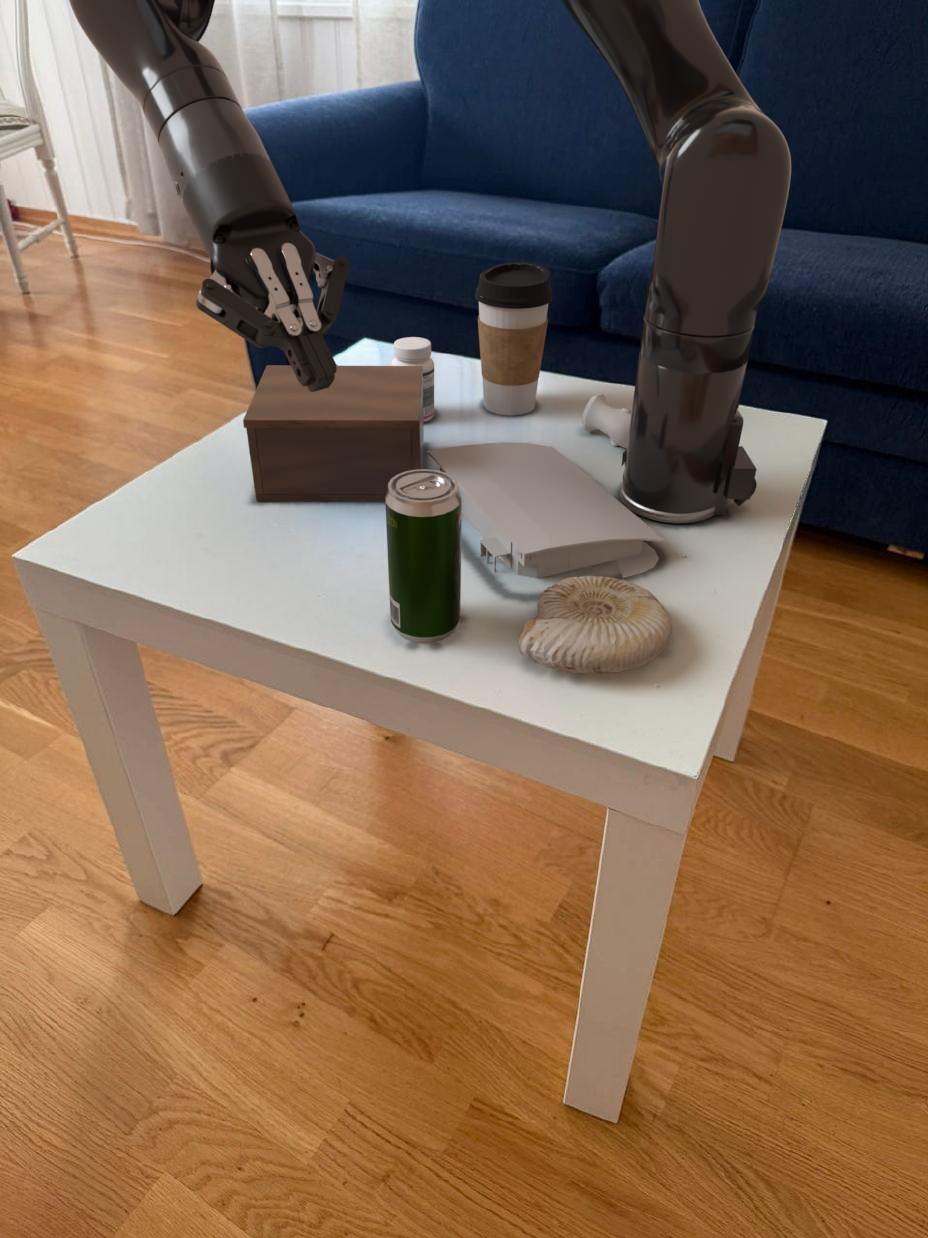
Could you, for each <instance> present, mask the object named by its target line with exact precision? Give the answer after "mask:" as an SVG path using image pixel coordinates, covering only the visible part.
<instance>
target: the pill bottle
mask: <svg viewBox="0 0 928 1238" xmlns="http://www.w3.org/2000/svg"><path fill="white" fill-rule="evenodd" d="M393 356H394V357H393V359H392V360H391V362H390V366H422V367H423V423H425V422H428V421H430V420H431V419H433V417H434V416H435V363H434V359H433V358H431V356H432V342H431V341H430V340H429V339H427V338H424V337H418V336H409V337H401V338H398V339H396V340H395V341H394V343H393Z"/></svg>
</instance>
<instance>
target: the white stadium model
mask: <svg viewBox="0 0 928 1238" xmlns="http://www.w3.org/2000/svg"><path fill="white" fill-rule="evenodd" d="M427 455H429V456H430V457H431V458H432V459H433V461H434V462H435V463H436V464H437V465H438V466H439V471H441V472H445V473H447V474H449V475H451V476H453V477H454V478H455V479H456V480H457V482H458V486H459V492H460V494H461V498H462V516H463V517H464V518H465V519H466V520H467V522H469V524H470V525H471V526H472V527H473V528H474V529H475V530H476V532H477V533H478V534H479V535H480V536H481V537H482V539H480V540H479V556H480V557H482V556H483V555H486V556H485V557H486V563H485V564H489V563H490V562H489V556H490V555H491V556H492V557H493V572H494V573H496V572H497V558H500V559H501V560H502V561H503V562H504V563H505V564H506V566H507V567H508V568H509V569H511V570H513V572H515V573H516V574H517V576H523V577H528V578H534V579H540V578H545V577H549V576H553V575H559V574H561V573H566V572H570V571H574V570H578V569H582V568H586V567H591V566H595V565H600V564H603V563H609V562H611V561H612V562H613V561H615V562H616V564H617V566H618V568H619V571H620V573H621V576H622V578H628V577H631V576H636V575H639V574H643V573H645V572H647V571H649V570H652V569H654V568H655V566H656V565H657V563H658V561H659V560H660V558H659V556H658V554H657V552H656V550H655V549H654V548H653V547H651V545H649V544H648V543H647V542H655V543H667V540H666V539H665V538H664V537H663V536H662V535H660V534H659V533H658V532H657V531H655V529H653V528H652V527H651V526H649V525H648V524H647V523H646V522H645V521H644V520H642V519H641V518H640V517H639V516H637V514H636V513H635V512H633V511H631V510H630V509H628V508H627V507H626V506H625V505H624V504H623V503H622V502H620V501H619V500H618V499H617V498H616V497H615V496H613V495H612V494H611V493H609V492H608V491H607V490H606V489H605V488H603V487H602V486H601V485H600V484H599V483H597V482H596V481H595V480H594V479H593V478H592V477H590V476H589V475H588V474H586V473H585V472H584V471H583V470H581V469H580V467H578V466H577V465H576V464H574V463H573V462H572V461H571V460H569V459H568V458H567V457H566V456H565V455H563V454H562V453H561V452H560V451H558V450H557V449H556V448H555V447H553V446H552V445H545V444H538V443H537V444H536V443H531V442H504V441H502V442H501V441H500V442H487V443H485V442H484V443H473V444H465V445H456V446H448V447H442V448H438V449H437V448H436V449H432V450H428V451H427ZM646 541H647V542H646ZM489 554H490V555H489Z"/></svg>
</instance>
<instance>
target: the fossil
mask: <svg viewBox="0 0 928 1238" xmlns="http://www.w3.org/2000/svg"><path fill="white" fill-rule="evenodd" d="M536 612H537V616H535V617H532V618H530V619H529V620H528V621H527V622H526V623H525V624H524V626H523V629H522V632H521V634H520V635H519V638H518V639H519V641H518V647H519V652H520V654H521V655H522V656H523V657H525V658H527V659H529V660H532V661H533V662H536V663H539V664H541V665H542V666H545V667H547V668H549V669H558V670H561V671H568V672H569V673H578V674H579V673H584V674H585V673H586V674H591V673H596V674H603V673H618V672H619V673H620V672H623V671H624V672H625V671H626V670H630V669H635V668H639V667H642V666H643V665H645V664H647V663H649V662H650V661H652V660H653V659H655V658H656V657H657V656H659V655H660V654H661V652H662V651H664V649H665V648H666V646H667V645H668V643H669V641H670V638H671V635H672V633H673V632H672V631H673V624H672V617H671V616H670V614H669V612H668V610H667V609H666V608H665V607H664V605H663V604H662V603H661V602H660V600H659V599H658V598H657V597H656V596H655V595H654V594H653V593H652V592H651V591H649V589H646V588H644V587H642V586H639V585H638V584H636V583H633V582H630V581H627V580H623V579H619V578H614V577H610V576H605V575H604V576H603V575H581V576H580V575H579V576H572V577H570V576H569V577H567V578H566V577H565V578H564V579H561V580H560V581H558V582H556V583H554V584H552V585H551V586H548V587H547V589H545V590H543V592H542V593H541V594H540V596H539V597H538V600H537V603H536Z"/></svg>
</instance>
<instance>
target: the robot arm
mask: <svg viewBox="0 0 928 1238" xmlns="http://www.w3.org/2000/svg"><path fill="white" fill-rule="evenodd" d="M559 1H560V2H561V4H562V5H563V7H564V8H565V10H566V11H567V13H568V14H569V16H570V18H572V20H573V21H574V23H575V24H576V25H577V26H578V28H579V29H580V31H581V32H582V33H583V35H584V37H586V39H587V40H588V41H589V43H590V44H591V46H592V47H593V48H594V49H595V50H596V51H597V54H598V55H600V57H601V58H602V59H603V61H604V62H605V63H606V65H607V66H608V68H609V69H610V70H611V72H612V73H613V75H614V76H615V78H616V80H617V81H618V83H619V85H620V86H621V88H622V90H623V92H624V94H625V96H626V99H627V101H628V102H629V104H630V106H631V109H632V111H633V113H634V115H635V117H636V120H637V122H638V125H639V127H640V129H641V131H642V134H643V136H644V139H645V141H646V144H647V146H648V148H649V152H650V153H651V157H652V159H653V162H654V164H655V167H656V170H657V173H658V176H659V180H660V184H661V187H662V188H661V189H662V191H661V198H660V207H659V213H658V214H659V215H658V222H657V230H656V237H655V244H654V252H653V253H654V254H653V260H652V266H651V271H650V276H649V281H648V284H647V288H646V294H645V303H644V304H645V305H644V311H643V319H642V320H643V321H642V327H641V335H640V336H641V337H640V344H639V353H638V360H637V366H636V368H637V369H636V374H635V375H636V376H635V384H634V391H633V399H632V406H631V411H632V413H631V421H630V429H629V437H628V444H627V448H625V450H624V451H623V452H622V458H621V465H620V466H621V467H623V466H624V469H623V472H622V473H623V474H622V481H621V485H620V490H619V491H620V492H619V497H620V500H621V503H622V504H623V505H624V506H625V507H626V508H627V509H629V510H630V511H631V512H632V513H634V514H635V515H638V516H640V517H644V518H646V519H649V520H652V521H656V522H662V523H669V524H691V523H698V522H702V521H705V520H707V519H710V518H712V517H713V516H725V515H726V510H727V505H728V501H731V500H732V501H733V502H734V503H735V505H737V506H738V507H740V506H741V505H743V503H745V502H747V501H748V500H751V497H752V496H753V495H754V494H755V492H756V491H757V486H758V485H757V484H758V483H757V479H756V473H757V467H756V466H755V464H754V462H753V460H752V459H751V458H750V456H749V455H748V453H747V451H746V450H745V448H744V446H743V445H740V443H741V437H742V432H743V427H744V417H743V415H742V414H741V413H740V411H739V407H740V403H741V396H742V392H743V387H744V381H745V376H746V373H747V372H746V371H747V366H748V362H749V357H750V351H751V347H752V343H753V337H754V332H755V326H756V321H757V318H758V317H757V316H758V311H759V307H760V305H761V303H762V301H763V298H764V297H765V295H766V293H767V290H768V287H769V284H770V280H771V276H772V271H773V265H774V262H775V259H776V258H775V257H776V253H777V250H778V249H777V248H778V244H779V240H780V235H781V231H782V227H783V223H784V217H785V213H786V208H787V204H788V203H787V202H788V199H789V192H790V191H789V190H790V186H791V177H792V157H791V151H790V147H789V146H788V141H787V140H786V137H785V136H784V135H785V134H783V132H782V130H781V129H780V127H778V125H776V123H775V122H774V121H773V120H772V119H771V118H770V117H768V116H767V115H766V113H765V112H763V111H762V109H761V108H760V107H759V106H758V105H757V103H756V102H755V101H754V99H753V98H752V96H751V95H750V94H749V93H750V92H748V91H747V89H746V87H745V86H744V85H743V83H742V81H741V79H740V78H739V76H738V74H737V73H736V71H735V69H734V68H733V66H732V64H731V63H730V61H729V59H728V58H727V56H726V55H725V53H724V51H723V50H722V47H721V46H720V44H719V43H718V40H717V39H716V37H715V34H714V33H713V31H712V29H711V28H710V26H709V23H708V21H707V18H706V17H705V14H704V12H703V10H702V7H701V4H700V1H699V0H559ZM68 2H69V5H70V8H71V10H72V12H73V14H74V16H75V19H76V21H77V23H78V24H79V26H80V27H81V30H83V32H84V35H85V36H86V37H87V39H88V40H89V42H90V43H91V44H92V46H93V47H94V49H96V51H97V53H98V54H99V55H100V56H101V58H102V59H103V60H104V61H105V63H106V64H107V65H108V67H109V68H110V69H111V70H112V72H113V73H114V74H115V76H116V77H117V79H118V80H119V81H120V82H121V84H123V86H124V87H125V88H126V89H127V90H128V91H129V92H130V94H131V95H132V96H133V97H134V98H135V99H136V101H137V102H138V104H139V106H140V108H141V110H142V113H143V114H144V117H145V119H146V121H147V124H148V126H149V128H150V131H151V132H152V134H153V136H154V138H155V140H156V142H157V144H158V148H159V149H160V151H161V154H162V156H163V159H164V163H165V166H166V170H167V172H168V175H169V178H170V180H171V182H172V184H173V188H174V192H175V193H176V195H177V196H178V198H179V199H180V201H181V203H182V205H183V207H184V209H185V211H186V214H187V215H188V218H189V220H190V222H191V224H192V227H193V229H194V231H195V233H196V235H197V237H198V239H199V241H200V243H201V246H202V247H203V249H204V251H205V253H206V255H207V256H208V257H209V272H210V275H211V276H210V277H209V278H205V279H203V280H202V282H201V285H200V288H199V291H198V293H197V297H196V299H195V306H196V308H197V309H198V310H200V311H201V312H203V313H204V314H205V315H207V316H208V317H210V318H212V319H213V320H214V321H216V322H218V323H220V324H221V325H222V326H224V327H225V328H227V329H229V331H232V332H233V333H235V334H236V335H237V336H239V337H241V338H242V339H244V340H246V341H247V342H249V343H250V344H252V345H253V346H255V347H256V348H258V349H262V350H263V349H266V348H267V347H275V348H279V349H280V350H281V351H283V353H284V355H285V357H286V358H287V360H288V363H289V365H291V367H292V369H293V371H294V373H295V375H296V377H297V379H298V381H299V382H300V383H301V385H302V386H303V387H304V386H307V387H308V389H309V391H310V392H315V391H319V390H322V389H326V388H329V386H330V385H331V384H332V382H333V381H334V379H335V373H336V371H337V368H336V364H337V363H336V361H335V358H334V357H333V354H332V353H331V350H330V348H329V346H328V344H327V342H326V340H325V338H324V336H325V335H327V334H328V332H329V330H330V328H331V327H332V324H333V323H334V322H335V321H336V320H337V318H338V314H339V312H340V306H341V302H342V298H343V293H344V291H345V290H344V289H345V285H346V281H347V277H348V272H349V269H350V262H349V260H348V259H347V257H346V256H344V255H337V256H336V257H335V258H334V259H331V258H330V257H327V256H326V255H323V254H320V253H319V252H317V251H316V249H317V248H316V246H315V245H314V243H313V242H312V241H311V240H310V239H309V238H308V237H307V236H306V235H305V234H304V232H303V231H302V230H301V227H300V224H299V220H298V216H297V213H296V210H295V209H294V205H293V204H292V201H291V199H290V198H289V195H288V193H287V191H286V189H285V187H284V185H283V183H282V180H281V179H280V177H279V175H278V172H277V171H276V168H275V166H274V164H273V162H272V160H271V158H270V156H269V154H268V152H267V149H266V147H265V145H264V144H263V141H262V139H261V138H260V135H259V134H258V132H257V130H256V128H255V127H254V126H253V124H252V123H251V121H250V120H249V118H248V117H247V115H246V113H245V111H244V110H243V107H242V105H241V103H240V101H239V98H238V97H237V95H236V92H235V91H234V89H233V87H232V84H231V82H230V80H229V78H228V76H227V73H226V72H225V70H224V68H223V66H222V64H221V63H220V62H219V59H217V58H216V56H215V54H214V53H213V52H212V51H211V50H210V49H209V48H207V46H205V45H204V44H203V43H201V42H200V41H201V40H202V38H203V36H204V35H205V34H206V31H207V29H208V26H209V24H210V21H211V17H212V15H213V10H214V7H215V2H216V0H68ZM313 272H314V273H315V280H316V283H317V287H318V288H320V289H321V292H320V295H319V301H318V305H317V308H315V307H316V306H315V304H314V294H313V291H312V288H311V281H312V277H313Z"/></svg>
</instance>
